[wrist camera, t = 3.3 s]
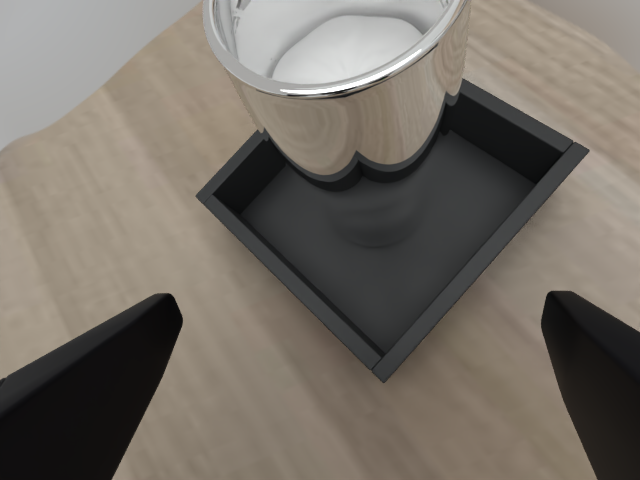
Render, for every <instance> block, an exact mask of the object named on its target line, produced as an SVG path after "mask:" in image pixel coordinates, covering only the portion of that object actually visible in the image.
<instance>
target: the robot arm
mask: <svg viewBox="0 0 640 480" xmlns="http://www.w3.org/2000/svg"><path fill="white" fill-rule="evenodd" d="M182 324H183V317H182V314H181V312H180V310H179V307H178V305H177V303H176V301H175V298H174V297H173V296H172V295H171V294H169V293H158V294H154V295H152V296H150V297H149V298H147V299H145V300H143V301H141V302H140V303H138V304H136V305H134V306H132V307H131V308H129V309H127V310H125V311H123V312H122V313H120V314H118V315H116V316H114V317H113V318H111V319H109V320H107V321H105V322H104V323H102V324H100V325H98V326H96V327H95V328H93V329H91V330H89V331H87V332H86V333H84V334H82V335H80V336H78V337H77V338H75V339H73V340H71V341H69V342H68V343H66V344H64V345H62V346H60V347H59V348H57V349H55V350H53V351H51V352H50V353H48V354H46V355H44V356H42V357H41V358H39V359H37V360H35V361H33V362H32V363H30V364H28V365H26V366H24V367H23V368H21V369H19V370H17V371H16V372H14V373H12V374H10V375H8V376H7V378H3V379H1V380H0V480H112V478H113V476H114V474H115V472H116V470H117V468H118V466H119V464H120V462H121V460H122V458H123V456H124V454H125V452H126V450H127V448H128V446H129V444H130V442H131V440H132V438H133V436H134V434H135V432H136V430H137V428H138V426H139V424H140V422H141V420H142V417H143V415H144V413H145V411H146V409H147V407H148V405H149V403H150V401H151V399H152V397H153V395H154V393H155V391H156V389H157V387H158V385H159V383H160V381H161V379H162V377H163V374H164V372H165V369H166V367H167V364H168V361H169V359H170V356H171V354H172V351H173V348H174V346H175V343H176V340H177V338H178V335H179V333H180V330H181V327H182ZM541 328H542V333H543V336H544V339H545V343H546V346H547V349H548V353H549V356H550V359H551V363H552V366H553V369H554V372H555V376H556V379H557V382H558V386H559V389H560V392H561V395H562V398H563V400H564V403H565V405H566V408H567V410H568V413H569V415H570V417H571V420H572V422H573V424H574V426H575V429H576V431H577V433H578V436H579V438H580V440H581V443H582V445H583V447H584V449H585V452H586V454H587V456H588V459H589V461H590V463H591V466H592V468H593V470H594V473H595V475H596V477H597V479H598V480H640V332H639V331H637V330H635V329H634V328H632V327H630V326H629V325H627V324H625V323H624V322H622V321H620V320H619V319H617V318H615V317H614V316H612V315H610V314H609V313H607V312H605V311H604V310H602V309H600V308H599V307H597V306H596V305H594V304H592V303H591V302H589V301H587V300H586V299H584V298H582V297H581V296H579V295H577V294H576V293H574V292H572V291H550V292H549V293H548V294H547V296H546V300H545V305H544V309H543V314H542V319H541Z"/></svg>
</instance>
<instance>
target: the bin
mask: <svg viewBox="0 0 640 480" xmlns="http://www.w3.org/2000/svg"><path fill="white" fill-rule="evenodd" d="M588 153H589V149H587V148H585V147H584V146H582V145H580V144H578V143H577V142H574V143H573V140H571V139H569V138H568V137H566V136H564V135H562V134H561V133H559V132H557V131H555V130H553V129H552V128H550V127H548V126H546V125H545V124H543V123H541V122H539V121H538V120H536V119H534V118H532V117H530V116H529V115H527V114H525V113H523V112H522V111H520V110H518V109H516V108H515V107H513V106H511V105H509V104H507V103H506V102H504V101H502V100H500V99H499V98H497V97H495V96H493V95H492V94H490V93H488V92H486V91H484V90H483V89H481V88H479V87H477V86H476V85H474V84H472V83H470V82H469V81H467V80H465V79H463V78H462V82H461V87H460V93H459V98H458V102H457V106H456V109H455V113H454V116H453V120H452V123H451V127H450V130H449V133H448V135H447V137H446V140H445V142H444V144H443V146H442V148H441V150H440V152H439V155H438V157H437V159H436V161H435V162H434V164H433V166H432V167H431V169H430V171H429V172H428V174H427V176H426V177H425V179H424V180H423V184H424V187H425V193H426V206H425V211H424V214H423V216H422V219H421V221H420V222H419V224H418V225H417V227H416V228H415V229H414V230H413V231H412V232H411V233H410V234H409V235H408V236H406V237H405V238H404V239H402V240H400V241H398V242H396V243H394V244H391V245H387V246H382V247H367V246H362V245H359V244H356V243H354V242H352V241H350V240H348V239H347V238H345V237H344V236H343V235H342V234H341V233H340V232H339V231H338V230H337V229H336V227H335V226H334V224H333V223H332V221H331V218H330V216H329V212H328V206H327V202H325V201H324V200H322V199H321V198H319V197H318V196H317V195H315V194H314V193H312V192H311V191H310V190H308V189H307V188H306V187H305V186H304V185H303V184H302V183H301V182H299V181H298V180H297V179H296V178H295V177H294V176H293V175H292V174H291V173H290V172H289V171H288V170H287V169H286V168H285V166H284V165H283V164H282V163H281V161H280V160H279V159H278V158H277V156H276V155H275V154H274V153H273V151H272V150H271V149H270V147H269V146H268V144H267V143H266V141H265V140H264V138H263V137H262V135H261V133H260V132H259V130H257V131H256V132H255V133H254V134H253V135H252V136H251V137H250V138H249V139H248V140H247V141H246V142H245V143H244V144H243V146H242V147H241V148H240V149H239V150H238V151H237V152H236V153H235V154H234V155H233V156H232V157H231V158H230V159H229V160H228V162H227V163H226V164H225V165H224V166H223V167H222V168H221V169H220V170H219V171H218V172H217V173H216V174H215V175H214V176H213V178H212V179H211V180H210V181H209V182H208V183H207V184H206V185H205V186H204V187H203V188H202V189H201V190H200V191H199V192H198V194H197V195H196V198H197V199H198V200H199V201H200V202H201V203H202V204H204V206H205V207H206V208H207V209H209V210H210V211H211V212H212V213H213V214H214V215H215V216H216V217H217V218H218V219H219V220H220V221H221V222H222V223H223V224H224V225H225V226H226V227H227V228H228V229H229V230H230V231H231V232H232V233H233V234H234V235H235V236H236V237H237V238H238V239H239V240H240V241H241V242H242V243H243V244H244V245H245V246H246V247H247V248H248V249H249V250H250V251H251V252H252V253H253V254H254V255H255V256H256V257H257V258H258V259H259V260H260V261H261V262H262V263H263V264H264V265H265V266H266V267H267V268H268V269H269V270H270V271H271V272H272V273H273V274H274V275H275V276H276V277H277V278H278V279H279V280H280V281H281V282H282V283H283V284H284V285H285V286H286V287H287V288H288V289H289V290H290V291H291V292H292V293H293V294H294V295H295V296H296V297H297V298H298V299H299V300H300V301H301V302H302V303H303V304H304V305H305V306H306V307H307V308H308V309H309V310H310V311H311V312H312V313H313V314H314V315H315V316H316V317H317V318H318V319H319V320H320V321H321V322H322V323H323V324H324V325H325V326H326V327H327V328H328V329H329V330H330V331H331V332H332V333H333V334H334V335H335V336H336V337H337V338H338V339H339V340H340V341H341V342H342V343H343V344H344V345H345V346H346V347H347V348H348V349H349V350H350V351H351V352H352V353H353V354H354V355H355V356H356V357H357V358H358V359H359V360H360V361H361V362H362V363H363V364H364V365H365V366H366V367H367V368H368V369H369V370H371V371H372V373H373V374H375V375H376V376H377V377H378V378H379V379H380V380H381V381H382V382H383V383H385V382H386V381H387V380H388V379H389V378H390V376H391V375H392V374H393V373H394V372H395V371H396V370H397V368H398V367H399V366H400V365H401V364H402V363H403V362H404V361H405V359H406V358H407V357H408V356H409V355H410V354H411V353H412V351H413V350H414V349H415V348H416V347H417V346H418V345H419V344H420V342H421V341H422V340H423V339H424V338H425V337H426V336H427V335H428V333H429V332H430V331H431V330H432V329H433V328H434V327H435V325H436V324H437V323H438V322H439V321H440V320H441V319H442V318H443V316H444V315H445V314H446V313H447V312H448V311H449V310H450V309H451V307H452V306H453V305H454V304H455V303H456V302H457V301H458V299H459V298H460V297H461V296H462V295H463V294H464V293H465V292H466V290H467V289H468V288H469V287H470V286H471V285H472V284H473V283H474V281H475V280H476V279H477V278H478V277H479V276H480V275H481V273H482V272H483V271H484V270H485V269H486V268H487V267H488V266H489V264H490V263H491V262H492V261H493V260H494V259H495V258H496V257H497V255H498V254H499V253H500V252H501V251H502V250H503V249H504V247H505V246H506V245H507V244H508V243H509V242H510V241H511V240H512V238H513V237H514V236H515V235H516V234H517V233H518V232H519V231H520V229H521V228H522V227H523V226H524V225H525V224H526V223H527V221H528V220H529V219H530V218H531V217H532V216H533V215H534V214H535V212H536V211H537V210H538V209H539V208H540V207H541V206H542V205H543V203H544V202H545V201H546V200H547V199H548V198H549V197H550V195H551V194H552V193H553V192H554V191H555V190H556V189H557V188H558V186H559V185H560V184H561V183H562V182H563V181H564V180H565V179H566V177H567V176H568V175H569V174H570V173H571V172H572V171H573V169H574V168H575V167H576V166H577V165H578V164H579V163H580V162H581V160H582V159H583V158H584V157H585V156H586V155H587V154H588Z"/></svg>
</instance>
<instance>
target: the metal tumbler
mask: <svg viewBox="0 0 640 480" xmlns="http://www.w3.org/2000/svg"><path fill="white" fill-rule="evenodd" d="M470 9H471V0H203V24H204V30H205V34H206V37H207V40H208V43H209V45H210V47H211V49H212V51H213V53H214V55H215V56H216V58H217V59H218V61H219V62H220V63H221V64H222V66H223V67H224V69H225V71H226V73H227V75H228V76H229V78H230V80H231V82H232V84H233V86H234V88H235V90H236V92H237V94H238V95H239V97H240V99H241V101H242V103H243V105H244V106H245V108H246V110H247V112H248V113H249V115H250V117H251V119H252V121H253V122H254V124H255V126H256V127H257V129H258V130H259V132H260V133H261V135H262V137H263V138H264V140H265V141H266V143H267V144H268V146H269V147H270V149H271V150H272V151H273V153H274V154H275V155H276V156H277V158H278V159H279V160H280V161H281V163H282V164H283V165H284V166H285V168H286V169H287V170H288V171H289V172H290V173H291V174H292V175H293V176H294V177H295V178H296V179H297V180H298V181H299V182H301V183H302V184H303V185H304V186H305V187H306V188H307V189H308V190H310V191H311V192H312V193H314V194H315V195H317V196H318V197H319V198H321V199H322V200H324V201H325V202H327V206H328V212H329V216H330V218H331V221H332V223H333V224H334V226H335V227H336V229H337V230H338V231H339V232H340V233H341V234H342V235H343V236H344V237H345V238H347V239H348V240H350V241H352V242H354V243H356V244H359V245H362V246H367V247H382V246H387V245H391V244H394V243H396V242H398V241H400V240H402V239H404V238H405V237H406V236H408V235H409V234H410V233H411V232H412V231H413V230H414V229H415V228H416V227H417V225H418V224H419V222H420V221H421V219H422V216H423V214H424V211H425V206H426V193H425V187H424V184H423V180H424V179H425V177H426V176H427V174H428V172H429V171H430V169H431V167H432V166H433V164H434V162H435V161H436V159H437V157H438V155H439V152H440V150H441V148H442V146H443V144H444V142H445V140H446V137H447V135H448V133H449V130H450V127H451V123H452V120H453V116H454V113H455V109H456V106H457V102H458V98H459V93H460V87H461V82H462V76H463V71H464V65H465V57H466V48H467V40H468V31H469V20H470Z"/></svg>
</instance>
